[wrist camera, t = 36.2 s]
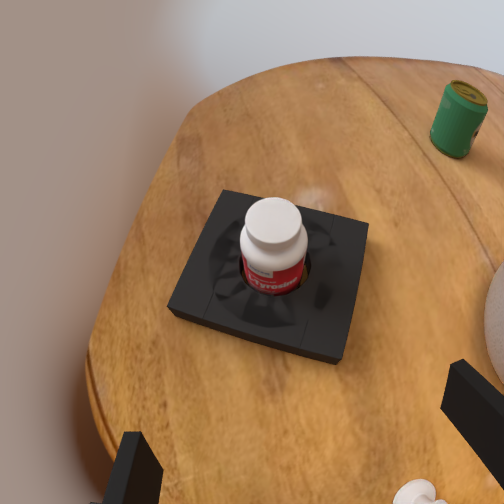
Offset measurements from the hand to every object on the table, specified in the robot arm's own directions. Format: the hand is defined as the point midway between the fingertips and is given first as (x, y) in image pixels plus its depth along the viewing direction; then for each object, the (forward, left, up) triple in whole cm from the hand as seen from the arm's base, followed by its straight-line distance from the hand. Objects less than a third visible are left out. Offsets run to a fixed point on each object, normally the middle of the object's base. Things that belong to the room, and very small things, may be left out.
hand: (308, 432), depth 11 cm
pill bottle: (-6, +15, -19) cm, 25 cm away
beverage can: (+17, +48, -19) cm, 54 cm away
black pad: (-6, +15, -19) cm, 25 cm away
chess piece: (+16, -6, -19) cm, 26 cm away
